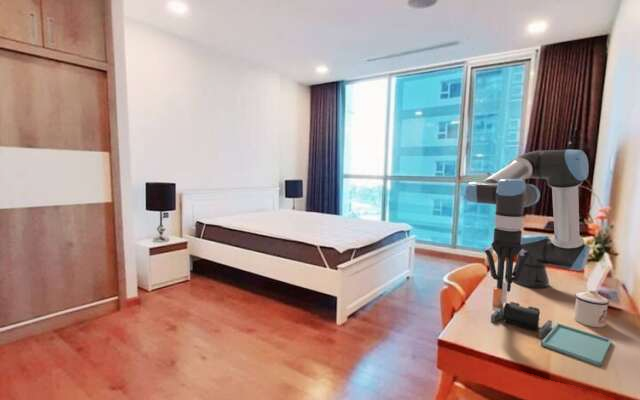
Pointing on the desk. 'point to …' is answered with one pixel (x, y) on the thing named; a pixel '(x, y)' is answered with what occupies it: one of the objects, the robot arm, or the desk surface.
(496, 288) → the crank handle
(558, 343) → the tray
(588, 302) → the teacup with lid
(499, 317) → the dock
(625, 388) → the desk surface
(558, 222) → the robot arm
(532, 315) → the end cap
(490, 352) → the desk surface
